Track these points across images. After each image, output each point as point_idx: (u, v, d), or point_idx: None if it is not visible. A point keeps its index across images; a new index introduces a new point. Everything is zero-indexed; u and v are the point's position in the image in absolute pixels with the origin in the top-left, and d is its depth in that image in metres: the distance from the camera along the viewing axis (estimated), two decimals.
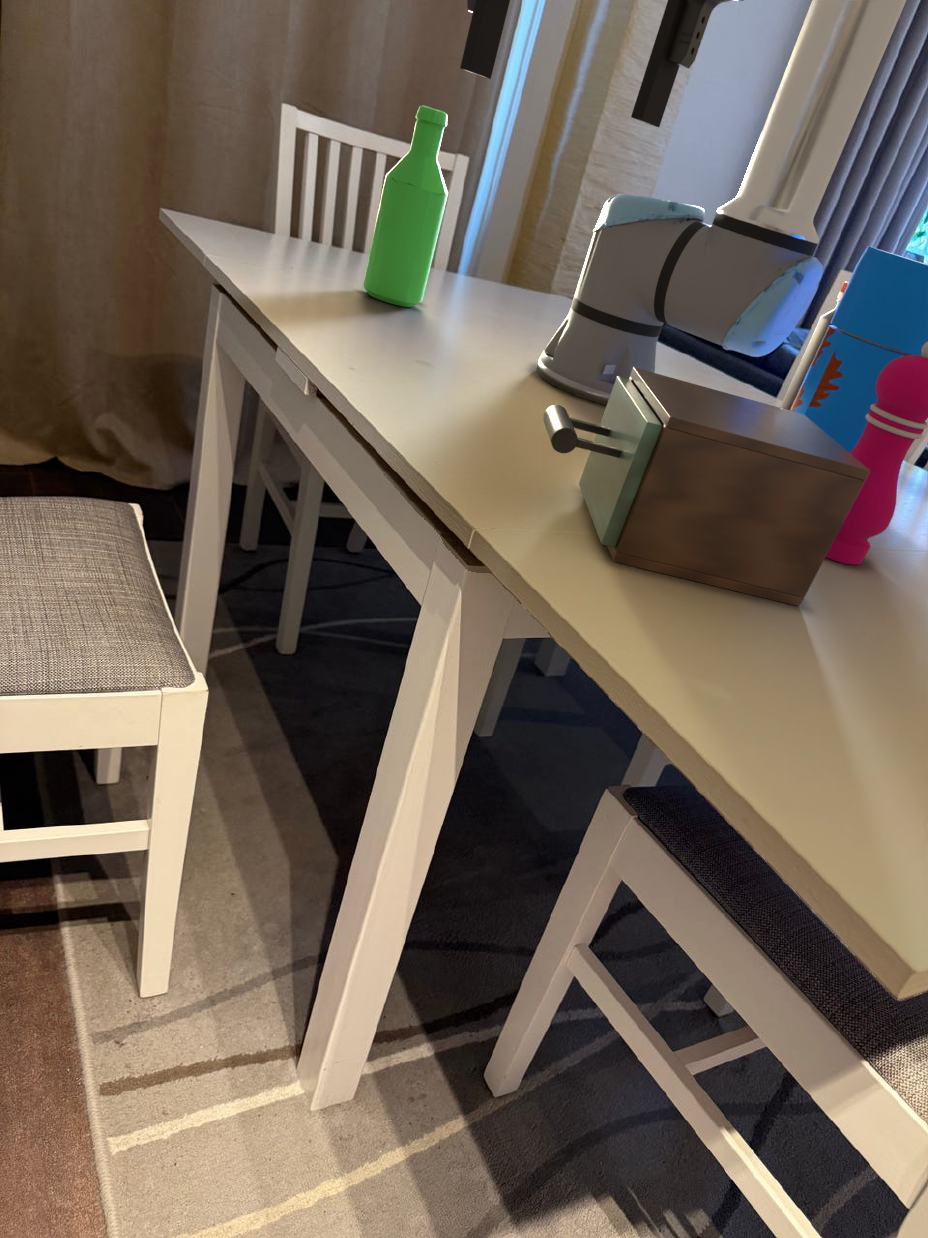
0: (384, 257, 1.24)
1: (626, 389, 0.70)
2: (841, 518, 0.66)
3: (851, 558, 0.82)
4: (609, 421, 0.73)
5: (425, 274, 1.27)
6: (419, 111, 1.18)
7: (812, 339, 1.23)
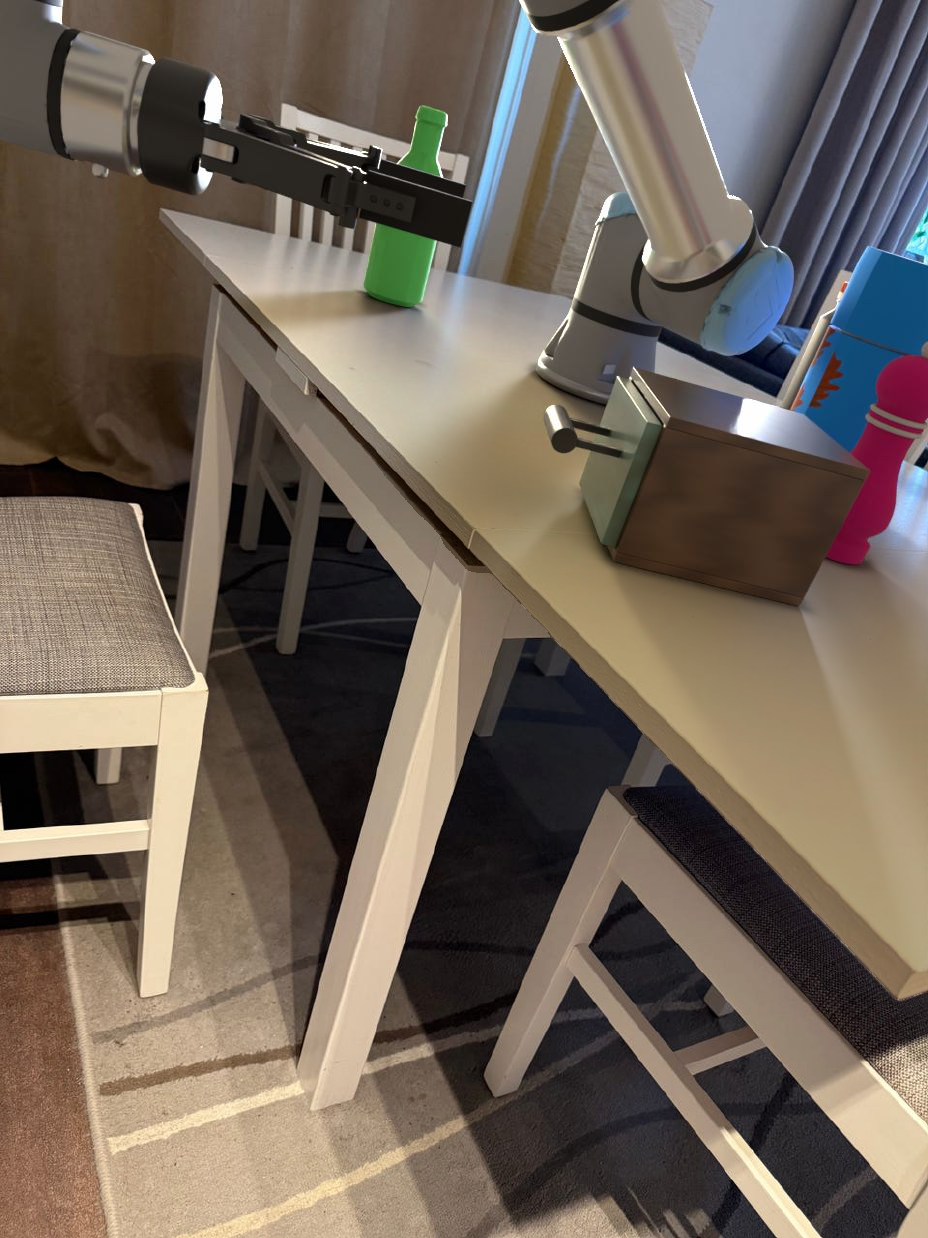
0: (384, 257, 1.24)
1: (626, 389, 0.70)
2: (841, 518, 0.66)
3: (851, 558, 0.82)
4: (609, 421, 0.73)
5: (425, 274, 1.27)
6: (419, 111, 1.18)
7: (812, 339, 1.23)
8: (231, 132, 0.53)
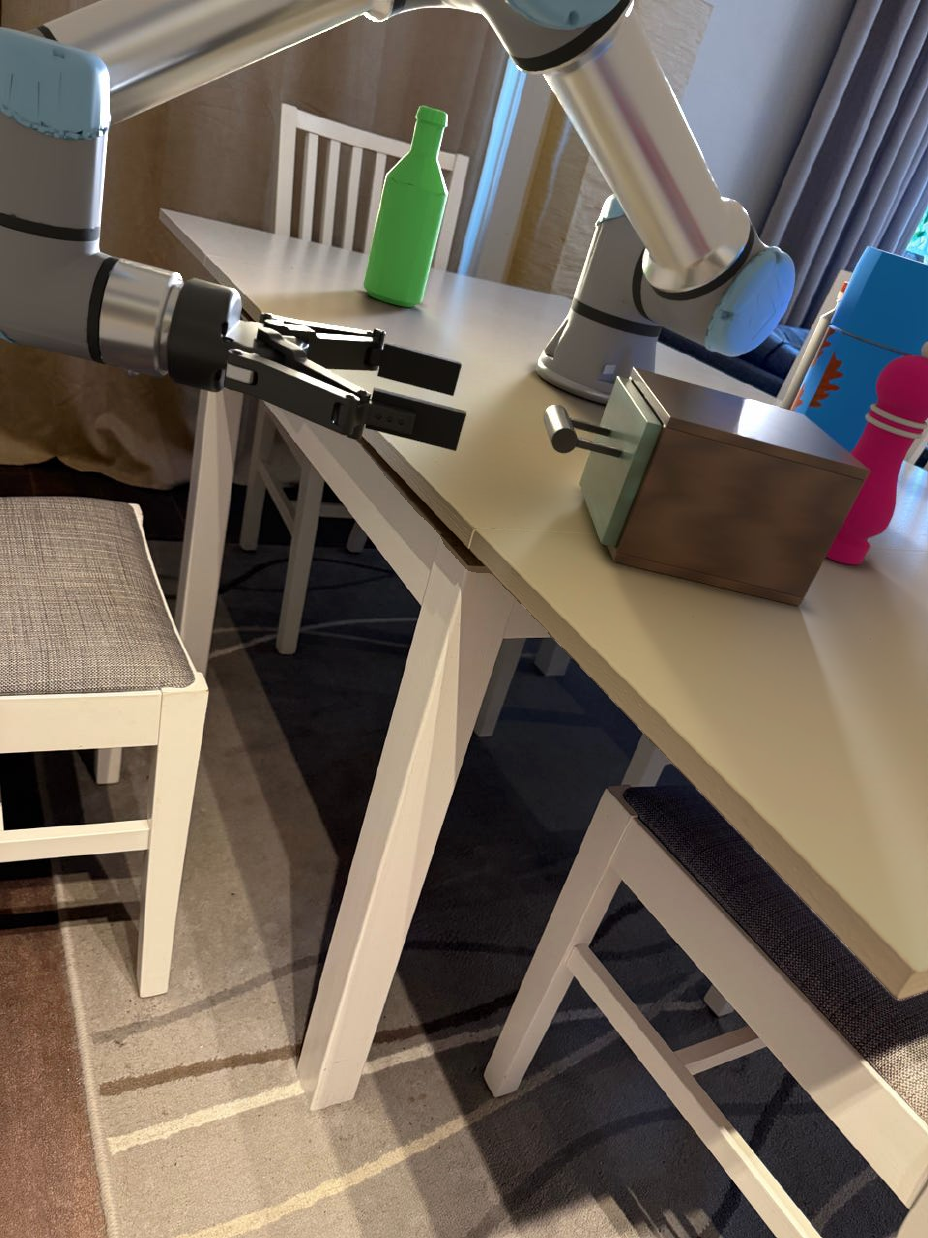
0: (384, 257, 1.24)
1: (626, 389, 0.70)
2: (841, 518, 0.66)
3: (851, 558, 0.82)
4: (609, 421, 0.73)
5: (425, 274, 1.27)
6: (419, 111, 1.18)
7: (812, 339, 1.23)
8: (251, 360, 0.59)
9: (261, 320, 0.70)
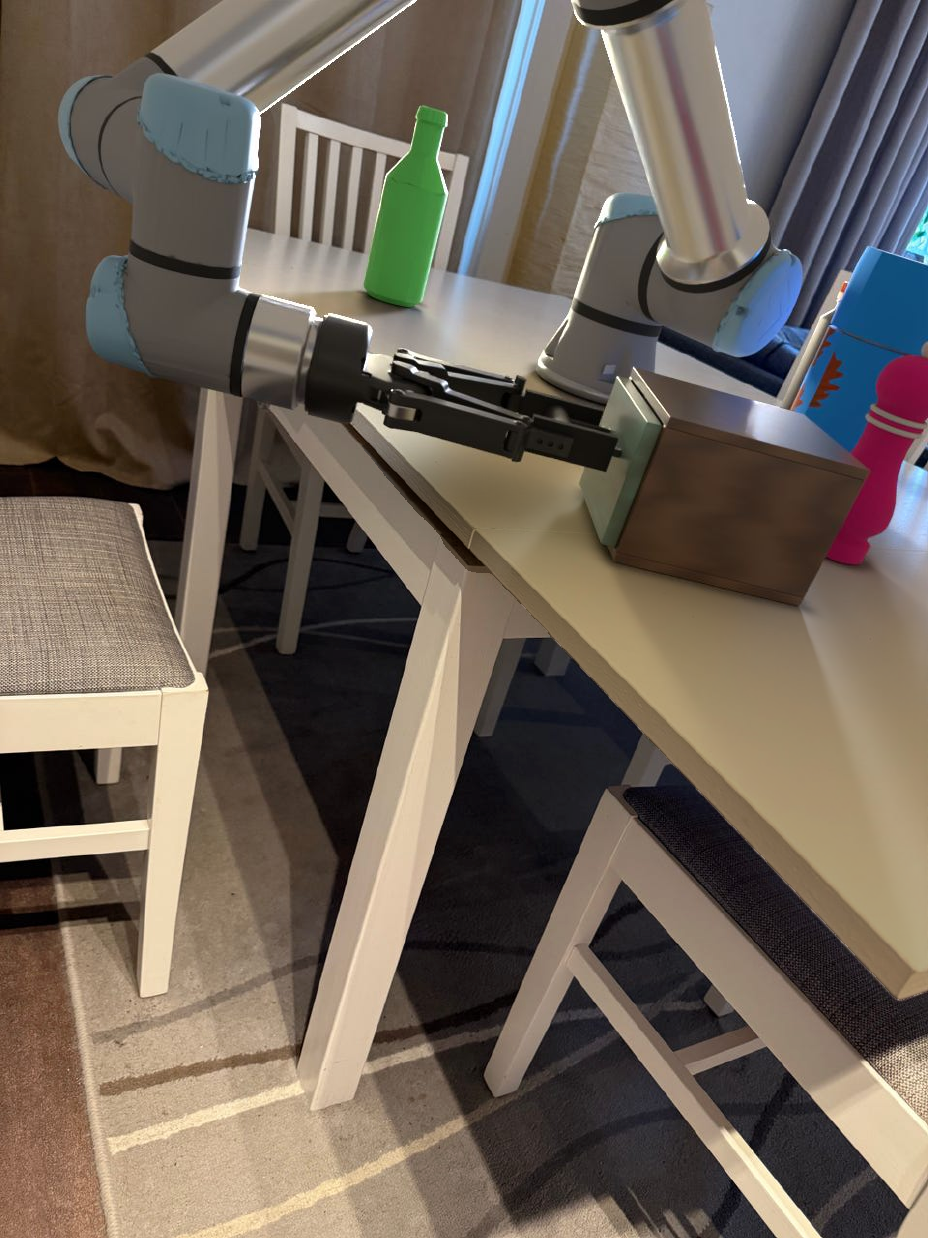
0: (384, 256, 1.24)
1: (626, 389, 0.70)
2: (841, 518, 0.66)
3: (851, 558, 0.82)
4: (609, 421, 0.73)
5: (425, 274, 1.27)
6: (419, 111, 1.18)
7: (812, 339, 1.23)
8: (417, 399, 0.62)
9: None
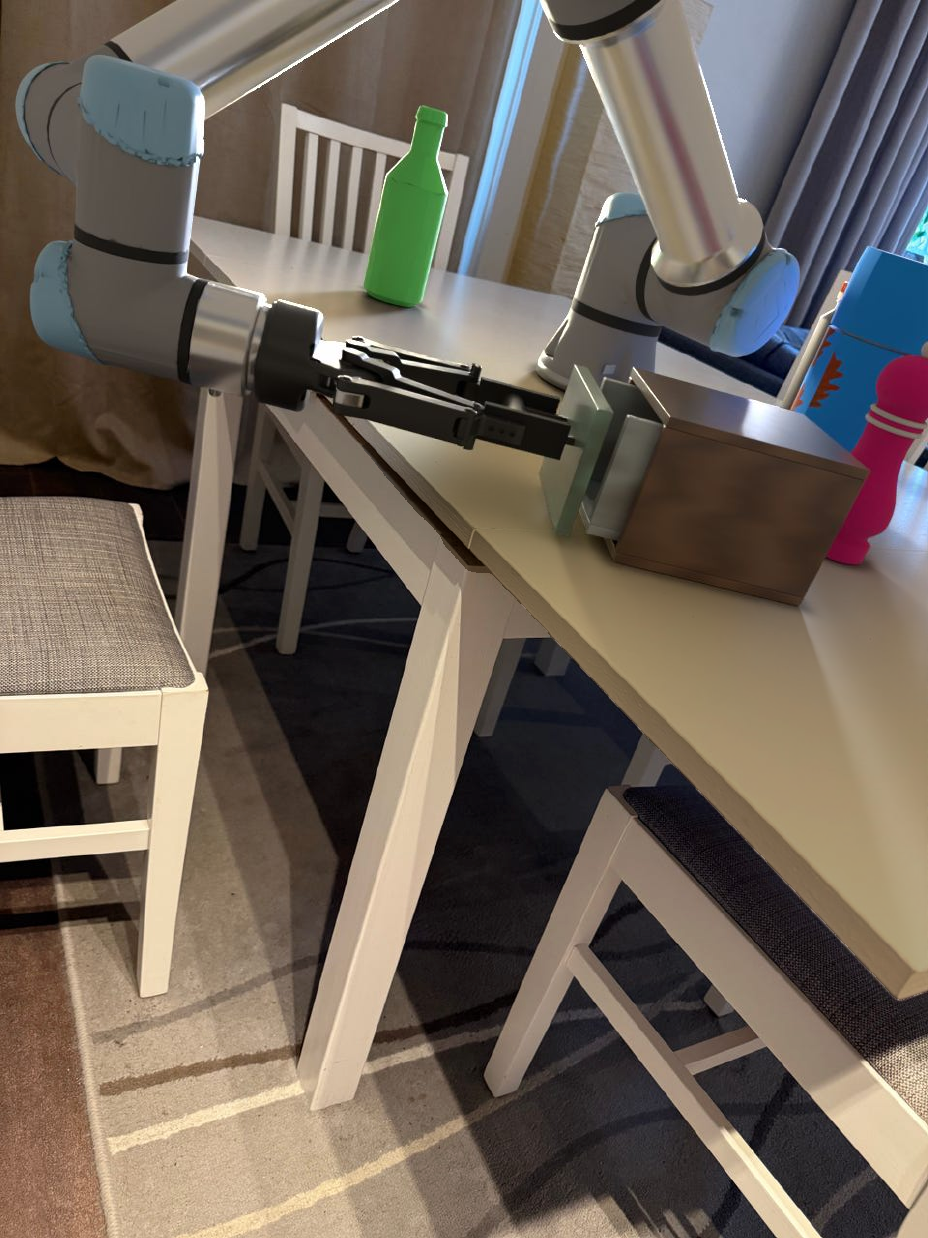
0: (384, 256, 1.24)
1: (582, 377, 0.70)
2: (841, 518, 0.66)
3: (851, 558, 0.82)
4: (566, 410, 0.72)
5: (425, 274, 1.27)
6: (419, 111, 1.18)
7: (812, 339, 1.23)
8: (364, 385, 0.61)
9: None
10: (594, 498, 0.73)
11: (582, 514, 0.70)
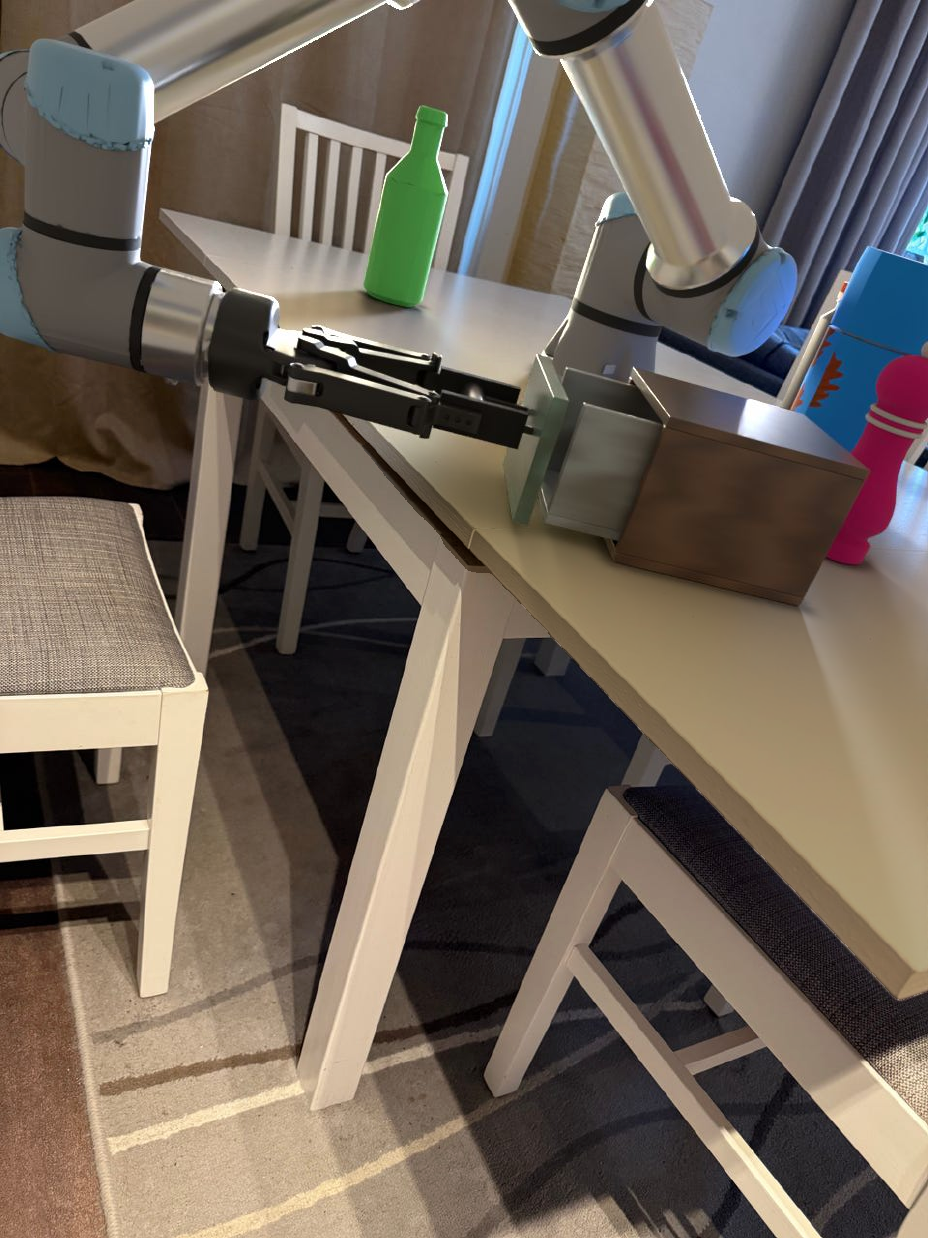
0: (384, 256, 1.24)
1: (541, 366, 0.69)
2: (841, 518, 0.66)
3: (851, 558, 0.82)
4: (527, 399, 0.72)
5: (425, 274, 1.27)
6: (419, 111, 1.18)
7: (812, 339, 1.23)
8: (317, 373, 0.60)
9: None
10: None
11: (542, 504, 0.70)
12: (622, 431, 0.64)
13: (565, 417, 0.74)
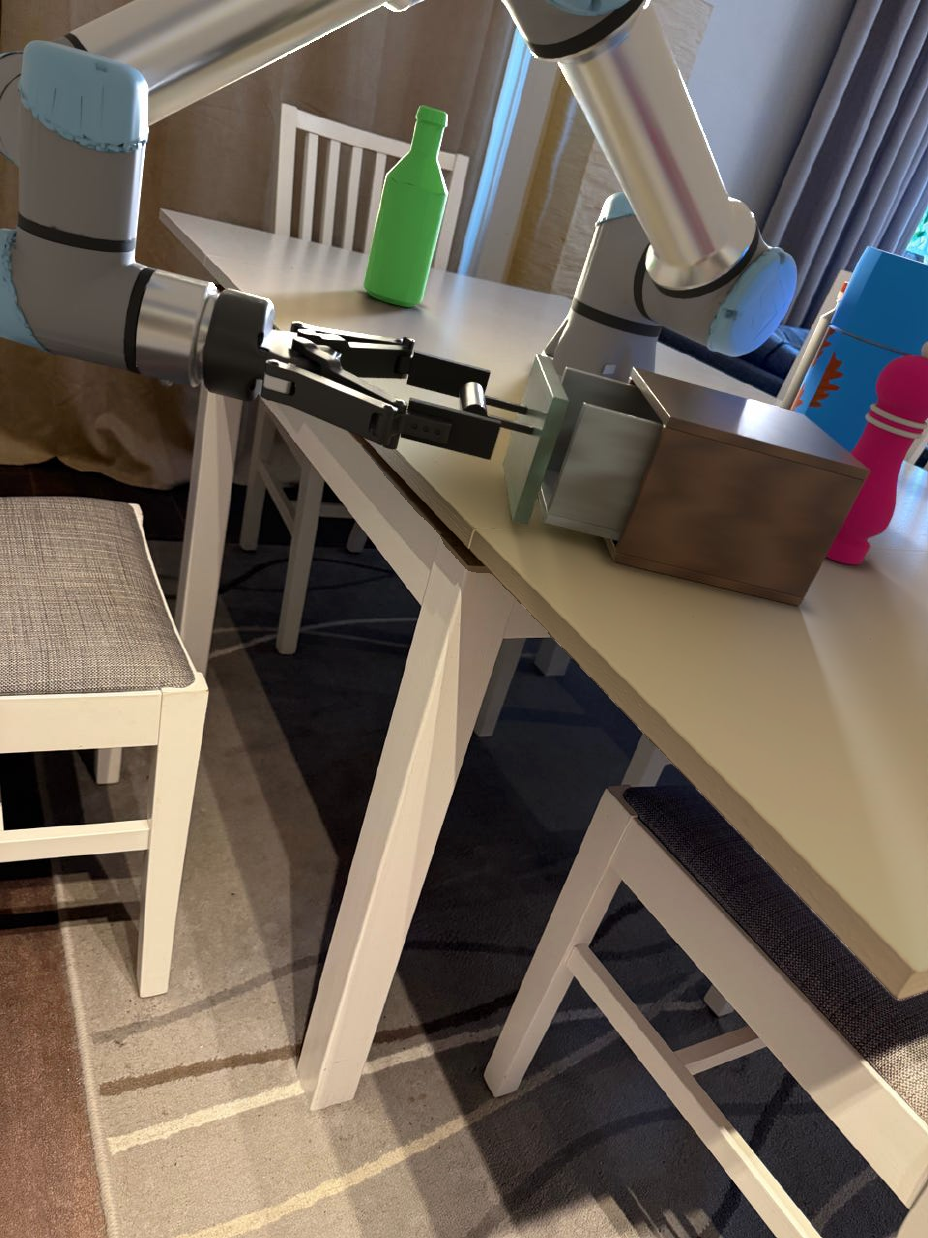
0: (384, 256, 1.24)
1: (541, 366, 0.69)
2: (841, 518, 0.66)
3: (851, 558, 0.82)
4: (527, 399, 0.72)
5: (425, 274, 1.27)
6: (419, 111, 1.18)
7: (812, 339, 1.23)
8: (289, 371, 0.60)
9: (292, 329, 0.71)
10: None
11: (542, 504, 0.70)
12: (622, 431, 0.64)
13: (565, 417, 0.74)
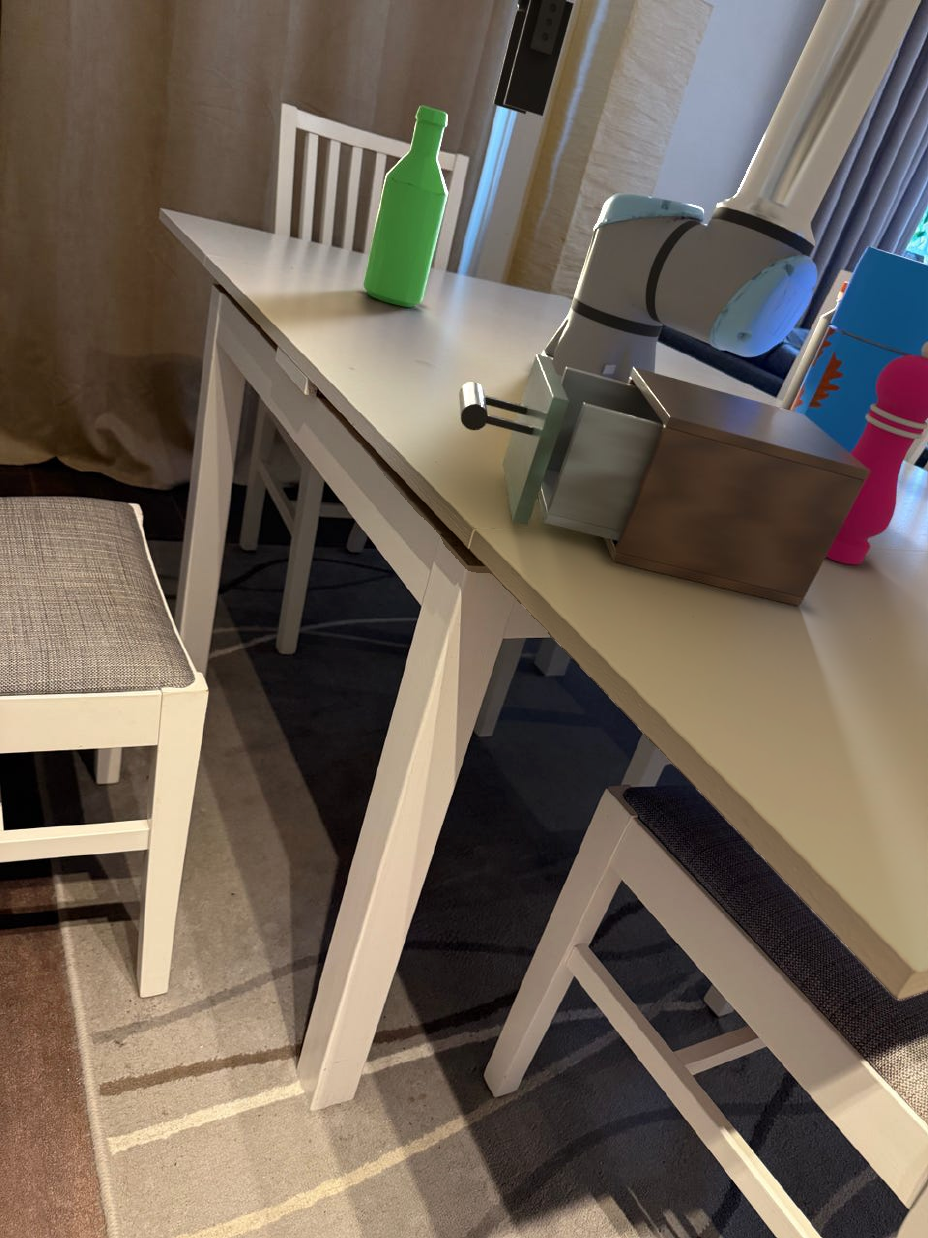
0: (384, 256, 1.24)
1: (541, 366, 0.69)
2: (841, 518, 0.66)
3: (851, 558, 0.82)
4: (527, 399, 0.72)
5: (425, 274, 1.27)
6: (419, 111, 1.18)
7: (812, 339, 1.23)
8: None
9: None
10: None
11: (542, 504, 0.70)
12: (622, 431, 0.64)
13: (565, 417, 0.74)
